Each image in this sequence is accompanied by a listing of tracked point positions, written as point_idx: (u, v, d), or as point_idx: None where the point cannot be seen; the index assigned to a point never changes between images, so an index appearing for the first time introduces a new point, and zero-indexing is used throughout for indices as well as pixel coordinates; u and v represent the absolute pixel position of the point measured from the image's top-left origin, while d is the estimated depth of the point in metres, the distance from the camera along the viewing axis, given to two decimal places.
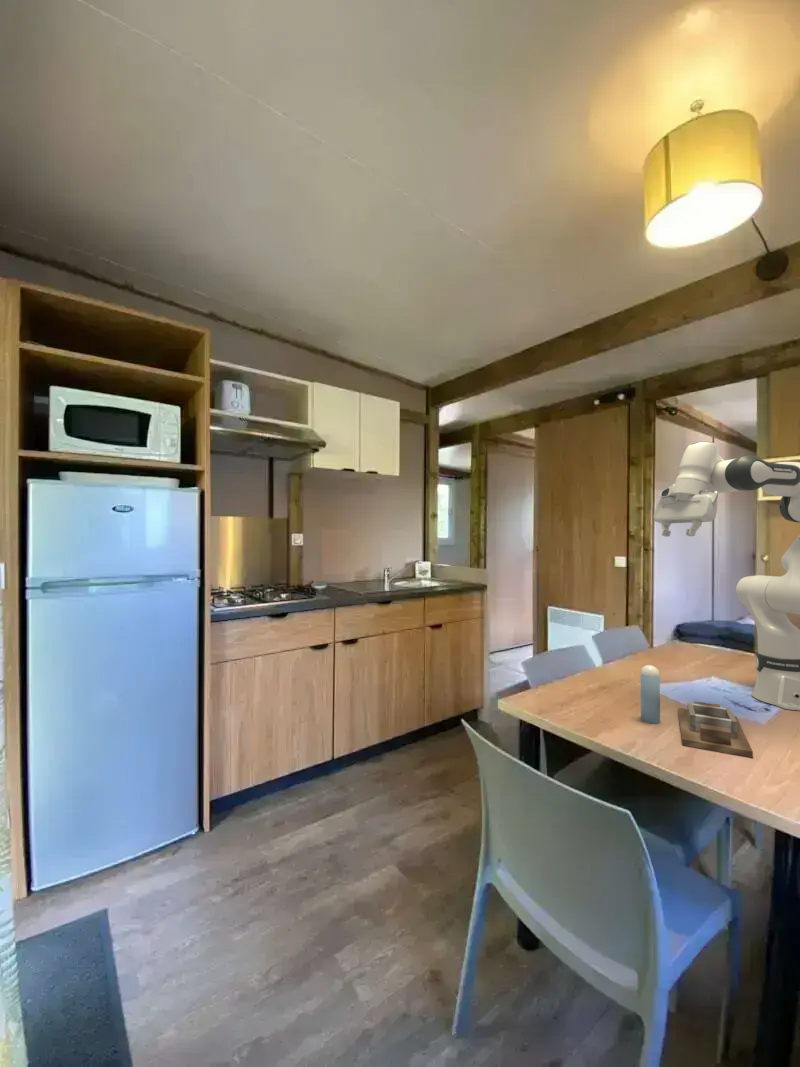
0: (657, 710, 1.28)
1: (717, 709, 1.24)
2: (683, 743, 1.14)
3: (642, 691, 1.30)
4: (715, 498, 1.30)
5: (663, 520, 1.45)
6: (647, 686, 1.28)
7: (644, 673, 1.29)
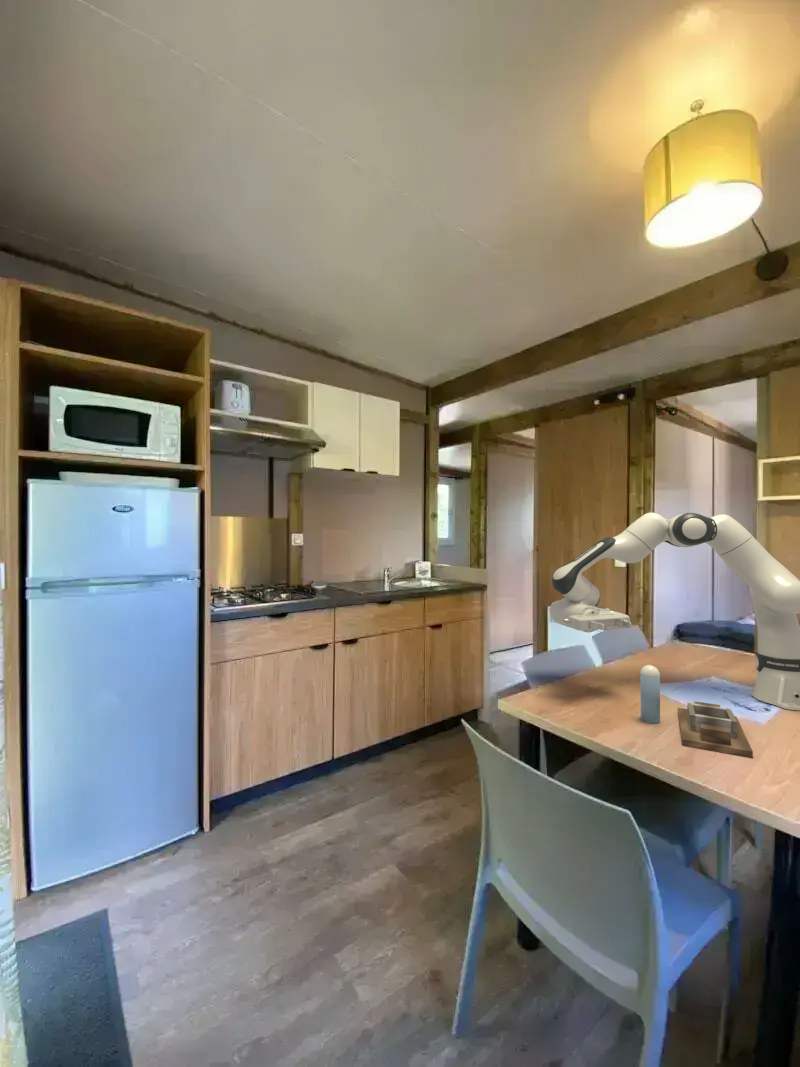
0: (657, 710, 1.28)
1: (717, 709, 1.24)
2: (683, 743, 1.14)
3: (642, 691, 1.30)
4: (566, 622, 1.49)
5: (620, 626, 1.48)
6: (647, 686, 1.28)
7: (644, 673, 1.29)
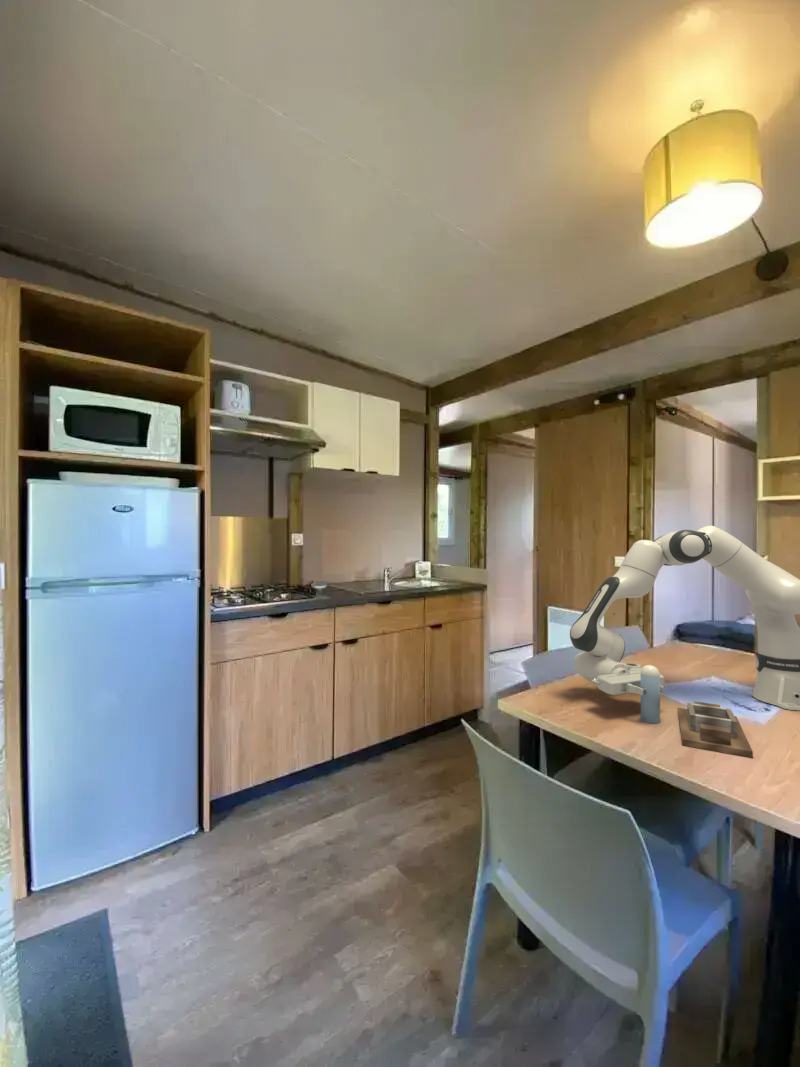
0: (657, 710, 1.28)
1: (717, 709, 1.24)
2: (683, 743, 1.14)
3: None
4: (595, 683, 1.36)
5: None
6: (647, 686, 1.28)
7: (644, 673, 1.29)
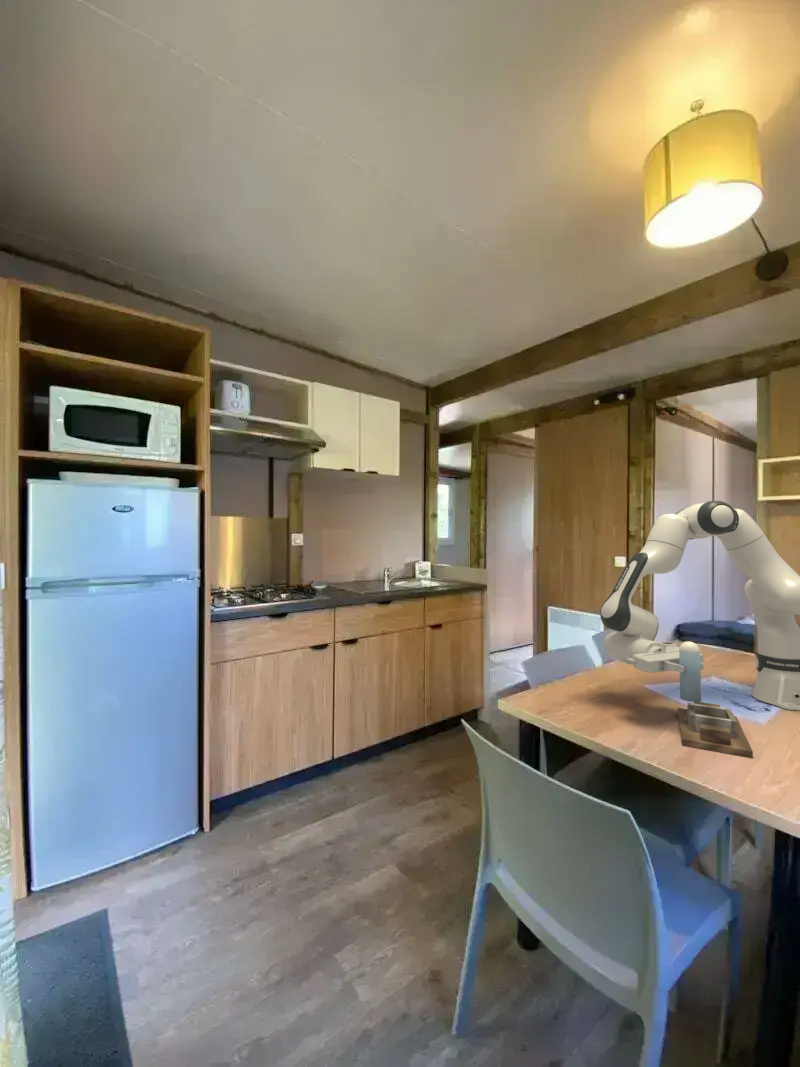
0: (698, 688, 1.22)
1: (717, 709, 1.24)
2: (683, 743, 1.14)
3: None
4: (630, 662, 1.31)
5: None
6: (687, 663, 1.23)
7: (684, 649, 1.24)
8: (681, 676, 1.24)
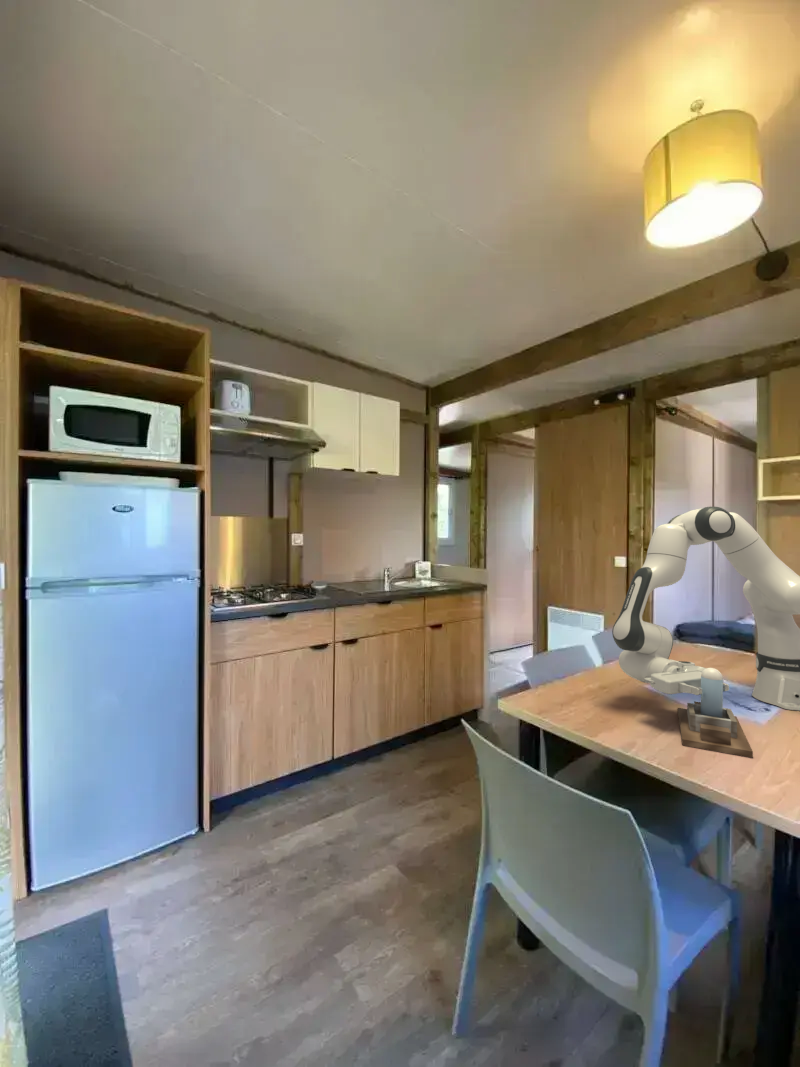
0: (720, 716, 1.19)
1: None
2: (683, 743, 1.14)
3: (703, 695, 1.21)
4: (648, 682, 1.28)
5: None
6: (709, 690, 1.20)
7: (706, 676, 1.21)
8: (702, 703, 1.21)
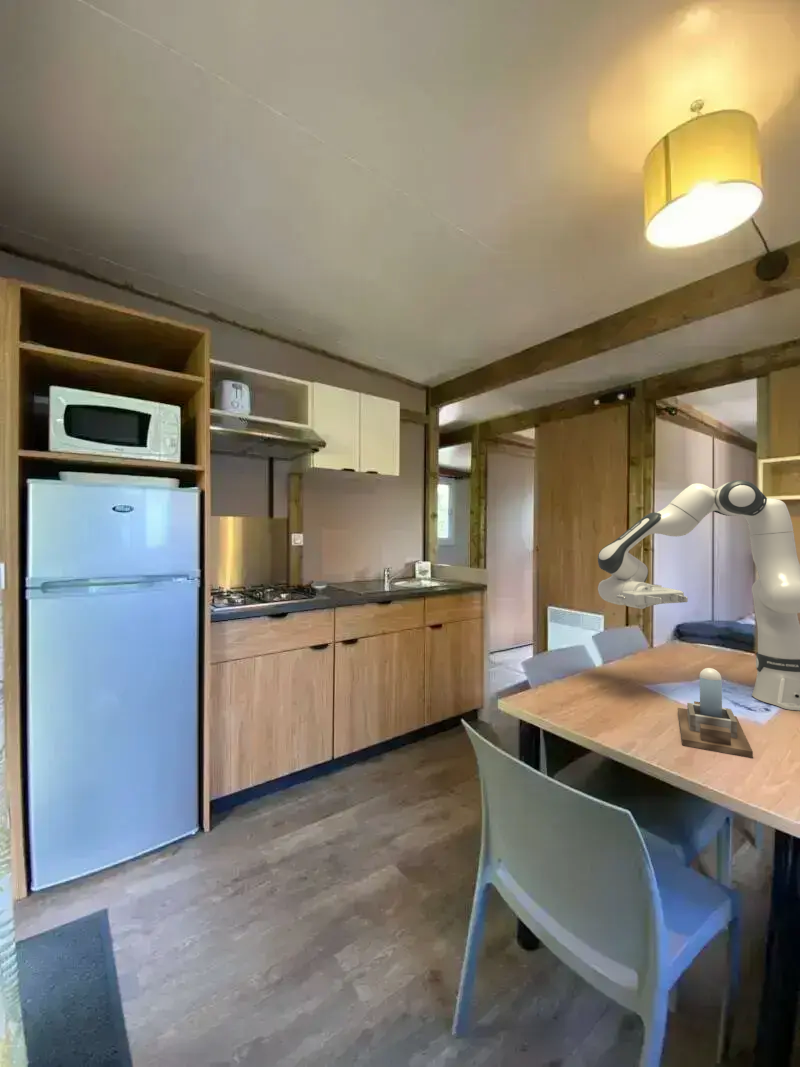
0: (720, 716, 1.19)
1: None
2: (683, 743, 1.14)
3: (702, 696, 1.21)
4: (620, 598, 1.50)
5: (675, 602, 1.48)
6: (708, 691, 1.20)
7: (705, 677, 1.21)
8: (702, 704, 1.21)
